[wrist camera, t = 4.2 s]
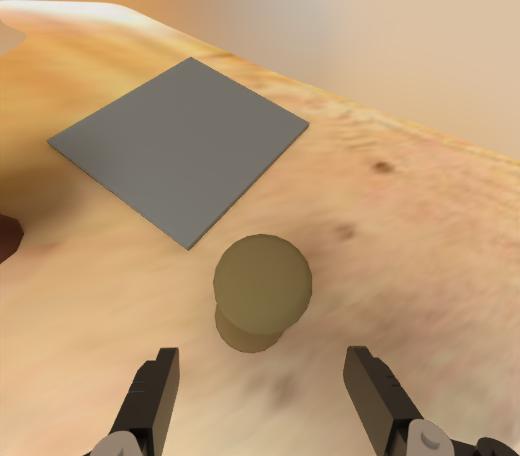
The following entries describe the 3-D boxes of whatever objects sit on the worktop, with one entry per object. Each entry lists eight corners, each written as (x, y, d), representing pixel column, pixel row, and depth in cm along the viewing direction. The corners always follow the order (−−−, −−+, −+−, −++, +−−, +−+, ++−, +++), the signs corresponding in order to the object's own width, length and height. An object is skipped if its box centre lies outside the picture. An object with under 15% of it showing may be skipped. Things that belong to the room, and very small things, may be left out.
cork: (206, 292, 22) (187, 236, 13) (270, 269, 24) (296, 204, 14) (228, 366, 20) (226, 365, 10) (298, 335, 22) (352, 309, 12)
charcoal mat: (188, 250, 24) (187, 248, 24) (49, 145, 28) (46, 140, 28) (308, 126, 34) (309, 122, 33) (191, 61, 38) (190, 56, 37)
